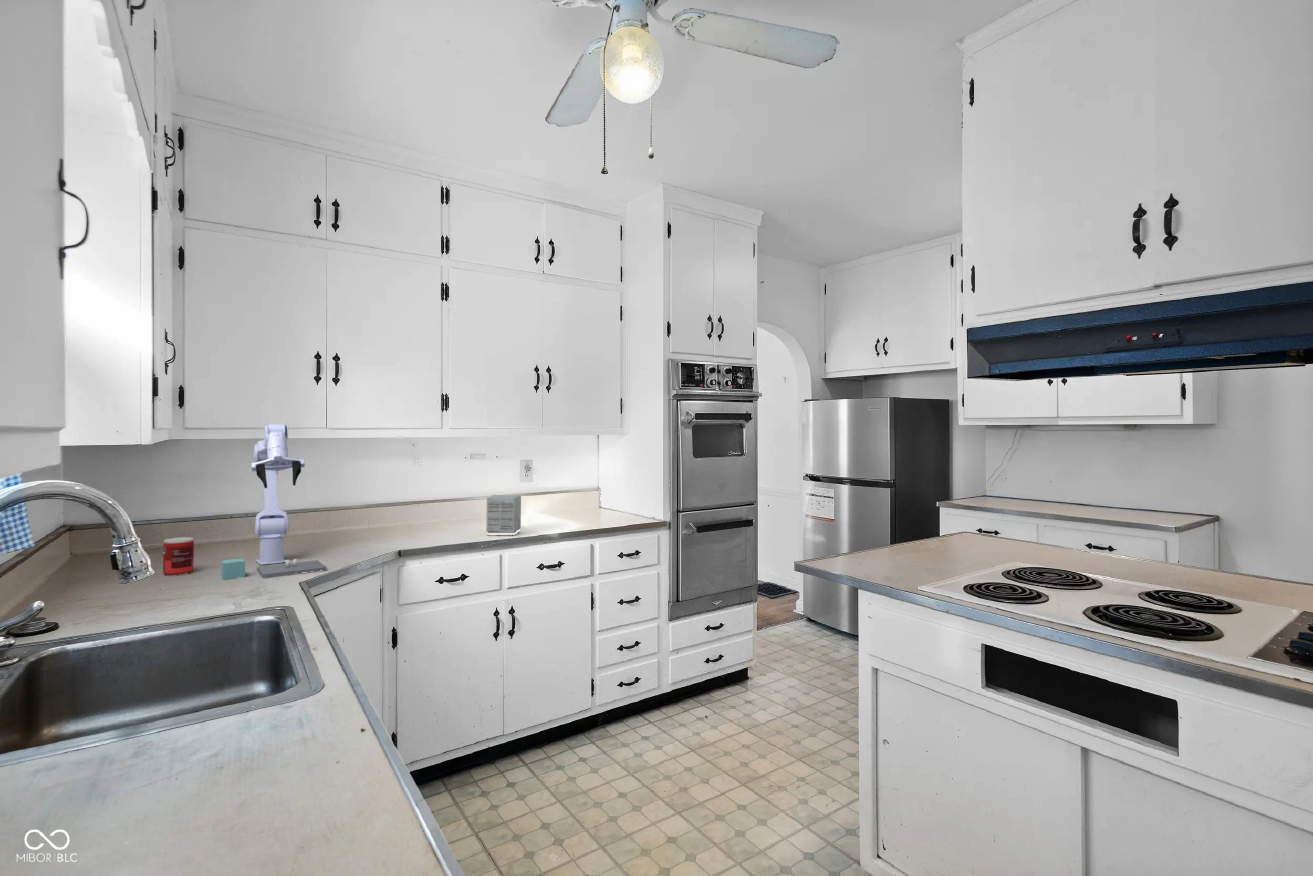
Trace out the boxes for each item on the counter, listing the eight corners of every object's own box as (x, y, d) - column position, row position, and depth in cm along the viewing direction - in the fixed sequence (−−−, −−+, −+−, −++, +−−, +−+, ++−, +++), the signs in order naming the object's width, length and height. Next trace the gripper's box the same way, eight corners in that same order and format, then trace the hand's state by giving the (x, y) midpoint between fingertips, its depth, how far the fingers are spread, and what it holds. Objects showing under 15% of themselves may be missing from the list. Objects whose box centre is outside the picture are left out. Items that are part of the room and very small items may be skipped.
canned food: (176, 570, 202) (176, 537, 202) (199, 571, 202) (200, 537, 202) (156, 575, 194) (156, 541, 194) (180, 576, 194) (181, 541, 194)
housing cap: (221, 576, 194) (221, 560, 194) (242, 573, 198) (242, 558, 198) (223, 579, 190) (223, 563, 190) (244, 577, 194) (244, 561, 194)
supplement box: (493, 531, 292) (493, 494, 292) (521, 531, 292) (521, 495, 292) (485, 536, 279) (486, 497, 279) (514, 536, 279) (515, 497, 279)
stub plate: (256, 570, 203) (256, 559, 203) (317, 563, 215) (317, 553, 215) (262, 578, 193) (263, 566, 193) (326, 570, 204) (326, 559, 204)
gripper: (250, 446, 195) (251, 479, 187) (302, 443, 202) (306, 474, 195) (252, 460, 199) (253, 493, 192) (303, 457, 207) (306, 488, 199)
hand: (280, 484), depth 194 cm, fingers open, 7 cm apart
